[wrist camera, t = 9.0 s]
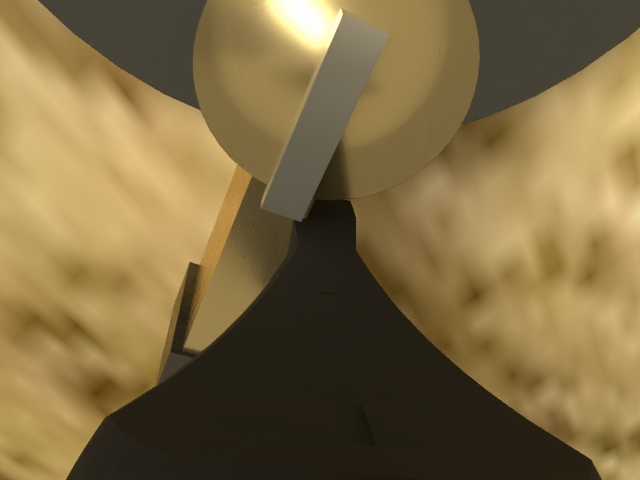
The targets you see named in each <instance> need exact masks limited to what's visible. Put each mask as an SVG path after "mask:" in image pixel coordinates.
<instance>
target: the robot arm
mask: <svg viewBox="0 0 640 480" xmlns="http://www.w3.org/2000/svg"><path fill="white" fill-rule="evenodd" d="M66 480H602V479H601V477H600V475H599V474H598V472H597V470H596V468H595V466H594V464H593V462H592V460H591V459H589V458H588V457H586V456H585V455H583V454H581V453H580V452H578V451H577V450H575V449H573V448H572V447H570V446H569V445H567V444H566V443H564V442H562V441H561V440H559V439H558V438H556V437H554V436H553V435H551V434H550V433H548V432H546V431H545V430H543V429H542V428H540V427H538V426H537V425H535V424H534V423H532V422H531V421H529V420H527V419H526V418H524V417H523V416H521V415H520V414H519V413H517V412H516V411H514V410H513V409H512V408H510V407H509V406H508V405H506V404H505V403H504V402H502V401H501V400H499V399H498V398H497V397H495V396H494V395H493V394H491V393H490V392H488V391H487V390H486V389H484V388H483V387H482V386H481V385H479V384H478V383H477V382H476V381H474V380H473V379H472V378H471V377H469V376H468V375H467V374H466V373H464V372H463V371H462V370H461V369H460V368H459V367H458V366H456V365H455V364H454V363H453V362H452V361H451V360H450V359H449V358H447V357H446V356H445V355H444V354H443V353H442V352H441V351H439V350H438V349H437V348H436V347H435V346H434V345H433V344H432V343H431V342H430V341H429V340H428V339H427V338H426V337H425V336H424V335H423V334H422V333H421V332H420V331H419V330H418V329H417V328H416V327H415V326H414V325H413V324H412V323H411V322H410V321H409V320H408V319H407V317H406V316H405V315H404V314H403V313H402V312H401V311H400V310H399V309H398V308H397V306H396V305H395V304H394V303H393V302H392V300H391V299H390V298H389V297H388V295H387V294H386V293H385V291H384V290H383V289H382V287H381V286H380V285H379V283H378V282H377V281H376V279H375V278H374V276H373V275H372V274H371V272H370V271H369V269H368V268H367V266H366V265H365V263H364V262H363V260H362V259H361V257H360V256H359V254H358V252H357V251H356V217H355V213H354V210H353V207H352V205H351V202H350V201H349V200H318V199H315V201H314V203H313V205H312V207H311V209H310V211H309V214H308V216H307V218H303V219H302V221H301V222H300V221H297V220H294V219H293V223H292V230H291V236H290V243H289V249H288V255H287V256H286V258H285V260H284V261H283V262H282V264H281V265H280V267H279V268H278V270H277V271H276V273H275V274H274V275H273V277H272V278H271V280H270V281H269V283H268V284H267V285H266V286H265V288H264V289H263V290H262V291H261V293H260V294H259V295H258V296H257V298H256V299H255V300H254V301H253V302H252V303H251V304H250V306H249V307H248V308H247V309H246V310H245V311H244V312H243V313H242V314H241V315H240V316H239V317H238V318H237V319H236V320H235V321H234V322H233V323H232V324H231V325H230V326H229V327H228V328H227V329H226V330H225V331H224V332H223V333H222V334H221V335H220V336H219V337H218V338H217V339H216V340H215V341H213V342H212V343H211V344H210V345H209V346H208V347H207V348H205V349H204V350H203V351H202V352H200V353H199V354H198V355H196V356H195V357H194V358H193V359H191V360H190V361H189V362H188V363H186V364H185V365H184V366H182V367H181V368H180V369H179V370H177V371H176V372H175V373H173V374H172V375H171V376H170V377H168V378H167V379H165V380H164V381H162V382H161V383H160V384H158V385H157V386H155V387H153V388H152V389H150V390H149V391H147V392H146V393H144V394H142V395H141V396H139V397H138V398H136V399H134V400H133V401H131V402H130V403H128V404H127V405H125V406H123V407H122V408H120V409H119V410H117V411H115V412H114V413H112V414H110V415H109V416H107V417H106V418H105V419H104V420H103V422H102V423H101V425H100V426H99V427H98V429H97V430H96V432H95V433H94V435H93V436H92V438H91V439H90V441H89V442H88V444H87V445H86V447H85V448H84V450H83V452H82V453H81V455H80V457H79V458H78V460H77V461H76V463H75V465H74V466H73V468H72V470H71V472H70V473H69V475H68V477H67V479H66Z"/></svg>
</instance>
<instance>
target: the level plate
mask: <svg viewBox="0 0 640 480" xmlns="http://www.w3.org/2000/svg"><path fill="white" fill-rule="evenodd" d="M38 1H40V2H41V3H42V4H43V5H44V6H45V7H46V8H47V9H48V10H49V11H50V12H51V13H52V14H53V15H55V16H56V17H57V18H58V19H59V20H60V21H61V22H62V23H63V24H64V25H65V26H66V27H67V28H68V29H70V30H71V31H72V32H73V33H74V34H75V35H77V36H78V37H79V38H81V39H82V40H83V41H85V42H86V43H87V44H89V45H90V46H91V47H93V48H94V49H95V50H97V51H98V52H99V53H101V54H102V55H103V56H105V57H106V58H107V59H109V60H110V61H111V62H113V63H114V64H115V65H117V66H118V67H120V68H121V69H123V70H125V71H126V72H128V73H130V74H131V75H133V76H135V77H137V78H138V79H140V80H142V81H143V82H145V83H147V84H148V85H150V86H152V87H153V88H155V89H157V90H159V91H160V92H162V93H164V94H165V95H168V96H170V97H172V98H174V99H177V100H179V101H181V102H183V103H186V104H188V105H190V106H192V107H195V108H197V109H199V110H201V108H200V105H199V102H198V99H197V95H196V90H195V84H194V77H193V52H194V41H195V37H196V32H197V28H198V24H199V21H200V18H201V15H202V13H203V10H204V7H205V5H206V2H207V0H38ZM468 1H469V3H470V6H471V9H472V12H473V15H474V18H475V21H476V27H477V32H478V37H479V54H480V59H479V71H478V79H477V83H476V88H475V92H474V96H473V98H472V101H471V104H470V107H469V110H468V112H467V114H466V116H465V118H464V120H463V122H462V124H464V123H467V122H470V121H474V120H477V119H480V118H484V117H487V116H490V115H492V114H494V113H497V112H499V111H502V110H504V109H506V108H509V107H511V106H513V105H516V104H518V103H520V102H523V101H525V100H527V99H530V98H532V97H534V96H536V95H538V94H540V93H542V92H543V91H545V90H547V89H549V88H551V87H552V86H554V85H556V84H558V83H559V82H561V81H563V80H565V79H567V78H568V77H570V76H572V75H574V74H576V73H577V72H579V71H581V70H582V69H584V68H585V67H587V66H588V65H589V64H591V63H592V62H594V61H595V60H597V59H598V58H599V57H601V56H602V55H604V54H605V53H606V52H608V51H609V50H611V49H612V48H614V47H615V46H616V45H618V44H619V43H621V42H622V41H623V40H625V39H626V38H628V37H629V36H630V35H631V34H632V33H633V32H635V31H636V30H637V29H638V28H639V27H640V0H468Z"/></svg>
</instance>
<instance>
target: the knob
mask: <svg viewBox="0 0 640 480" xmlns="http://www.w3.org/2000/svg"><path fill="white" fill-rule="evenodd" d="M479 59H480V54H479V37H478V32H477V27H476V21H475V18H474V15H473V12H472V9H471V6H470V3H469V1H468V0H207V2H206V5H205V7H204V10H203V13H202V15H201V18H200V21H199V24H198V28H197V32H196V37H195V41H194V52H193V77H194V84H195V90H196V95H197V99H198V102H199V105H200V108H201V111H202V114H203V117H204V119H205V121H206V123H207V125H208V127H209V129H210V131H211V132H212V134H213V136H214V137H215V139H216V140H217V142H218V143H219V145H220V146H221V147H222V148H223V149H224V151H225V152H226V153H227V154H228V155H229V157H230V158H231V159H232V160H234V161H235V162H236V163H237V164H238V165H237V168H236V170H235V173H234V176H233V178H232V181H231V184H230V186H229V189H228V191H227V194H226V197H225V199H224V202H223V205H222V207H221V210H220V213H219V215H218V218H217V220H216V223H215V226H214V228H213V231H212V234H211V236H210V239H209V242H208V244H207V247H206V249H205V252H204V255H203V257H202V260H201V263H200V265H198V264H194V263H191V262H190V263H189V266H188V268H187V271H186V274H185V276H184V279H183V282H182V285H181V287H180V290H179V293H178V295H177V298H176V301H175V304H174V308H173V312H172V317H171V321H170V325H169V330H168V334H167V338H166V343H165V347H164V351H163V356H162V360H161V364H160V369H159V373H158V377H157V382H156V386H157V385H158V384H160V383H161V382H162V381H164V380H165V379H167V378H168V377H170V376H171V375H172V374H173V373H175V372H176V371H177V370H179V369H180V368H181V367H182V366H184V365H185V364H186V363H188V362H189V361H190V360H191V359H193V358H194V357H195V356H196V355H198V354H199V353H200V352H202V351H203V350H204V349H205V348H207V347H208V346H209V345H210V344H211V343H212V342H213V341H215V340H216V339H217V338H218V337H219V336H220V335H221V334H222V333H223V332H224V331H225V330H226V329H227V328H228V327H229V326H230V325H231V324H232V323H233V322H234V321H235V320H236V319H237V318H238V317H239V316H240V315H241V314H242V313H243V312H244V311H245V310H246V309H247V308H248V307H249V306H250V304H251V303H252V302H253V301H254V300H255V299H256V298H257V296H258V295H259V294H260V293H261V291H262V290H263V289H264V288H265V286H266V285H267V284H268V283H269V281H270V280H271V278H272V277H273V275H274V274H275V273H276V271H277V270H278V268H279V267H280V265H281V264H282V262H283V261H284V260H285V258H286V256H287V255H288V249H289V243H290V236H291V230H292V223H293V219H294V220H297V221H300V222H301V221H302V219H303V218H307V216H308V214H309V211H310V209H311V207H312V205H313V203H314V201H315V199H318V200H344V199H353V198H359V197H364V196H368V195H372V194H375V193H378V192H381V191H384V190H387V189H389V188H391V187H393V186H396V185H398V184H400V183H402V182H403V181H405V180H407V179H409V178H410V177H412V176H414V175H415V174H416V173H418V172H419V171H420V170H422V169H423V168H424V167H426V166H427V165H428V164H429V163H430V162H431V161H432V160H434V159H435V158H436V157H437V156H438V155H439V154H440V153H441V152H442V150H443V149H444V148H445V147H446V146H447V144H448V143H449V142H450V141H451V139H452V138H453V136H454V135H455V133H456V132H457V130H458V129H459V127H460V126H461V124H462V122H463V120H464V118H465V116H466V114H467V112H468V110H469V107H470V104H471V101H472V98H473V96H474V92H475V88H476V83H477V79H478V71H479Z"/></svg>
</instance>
